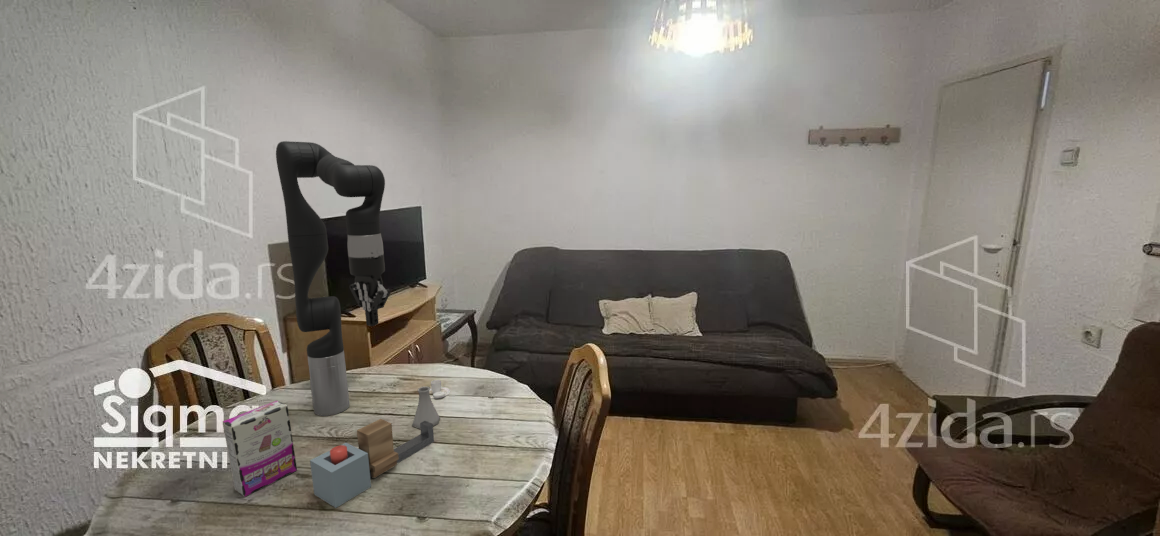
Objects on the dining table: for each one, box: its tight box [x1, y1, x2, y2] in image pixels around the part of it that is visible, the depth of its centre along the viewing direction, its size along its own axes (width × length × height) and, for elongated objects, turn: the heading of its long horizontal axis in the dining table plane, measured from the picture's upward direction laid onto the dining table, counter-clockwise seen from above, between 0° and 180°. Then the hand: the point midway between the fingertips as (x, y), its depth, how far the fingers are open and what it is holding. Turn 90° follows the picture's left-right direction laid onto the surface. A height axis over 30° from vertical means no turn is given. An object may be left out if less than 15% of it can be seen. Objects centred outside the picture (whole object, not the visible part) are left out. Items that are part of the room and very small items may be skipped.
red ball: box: [329, 444, 348, 465], centre depth 101 cm, size 3×3×3 cm
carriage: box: [356, 418, 399, 479], centre depth 109 cm, size 7×6×10 cm
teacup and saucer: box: [429, 379, 451, 400], centre depth 148 cm, size 9×8×4 cm
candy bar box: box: [222, 400, 298, 497], centre depth 105 cm, size 11×5×16 cm, turn 148°
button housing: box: [309, 442, 372, 509], centre depth 102 cm, size 8×8×8 cm
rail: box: [370, 421, 435, 480], centre depth 114 cm, size 3×20×5 cm, turn 148°
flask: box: [411, 386, 441, 430], centre depth 130 cm, size 7×7×10 cm
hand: (372, 325), depth 114 cm, fingers closed
